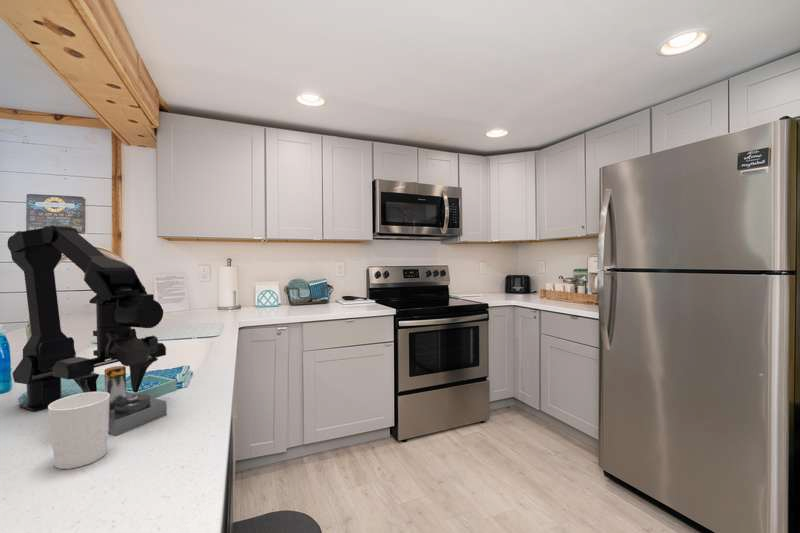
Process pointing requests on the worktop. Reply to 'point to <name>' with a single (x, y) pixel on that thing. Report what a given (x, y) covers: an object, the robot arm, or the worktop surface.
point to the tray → (156, 390)
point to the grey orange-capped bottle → (115, 383)
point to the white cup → (79, 428)
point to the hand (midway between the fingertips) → (115, 398)
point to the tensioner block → (134, 412)
